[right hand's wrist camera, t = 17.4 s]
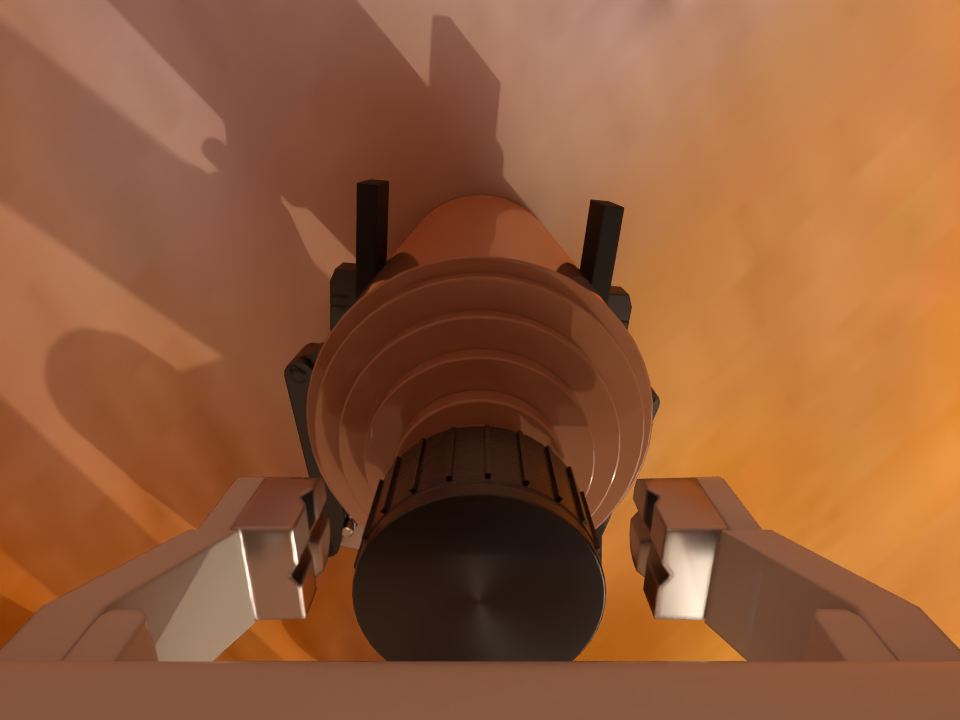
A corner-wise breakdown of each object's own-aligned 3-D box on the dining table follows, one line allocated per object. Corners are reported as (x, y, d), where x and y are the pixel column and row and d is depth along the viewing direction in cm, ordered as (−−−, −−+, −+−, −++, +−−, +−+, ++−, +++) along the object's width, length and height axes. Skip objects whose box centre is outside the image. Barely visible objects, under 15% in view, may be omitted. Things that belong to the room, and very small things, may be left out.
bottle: (418, 363, 31) (296, 782, 10) (384, 210, 28) (126, 376, 8) (568, 339, 30) (747, 732, 10) (549, 181, 28) (748, 277, 7)
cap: (587, 592, 11) (610, 689, 9) (389, 605, 11) (368, 703, 9) (583, 413, 10) (610, 481, 8) (357, 429, 10) (326, 501, 8)
